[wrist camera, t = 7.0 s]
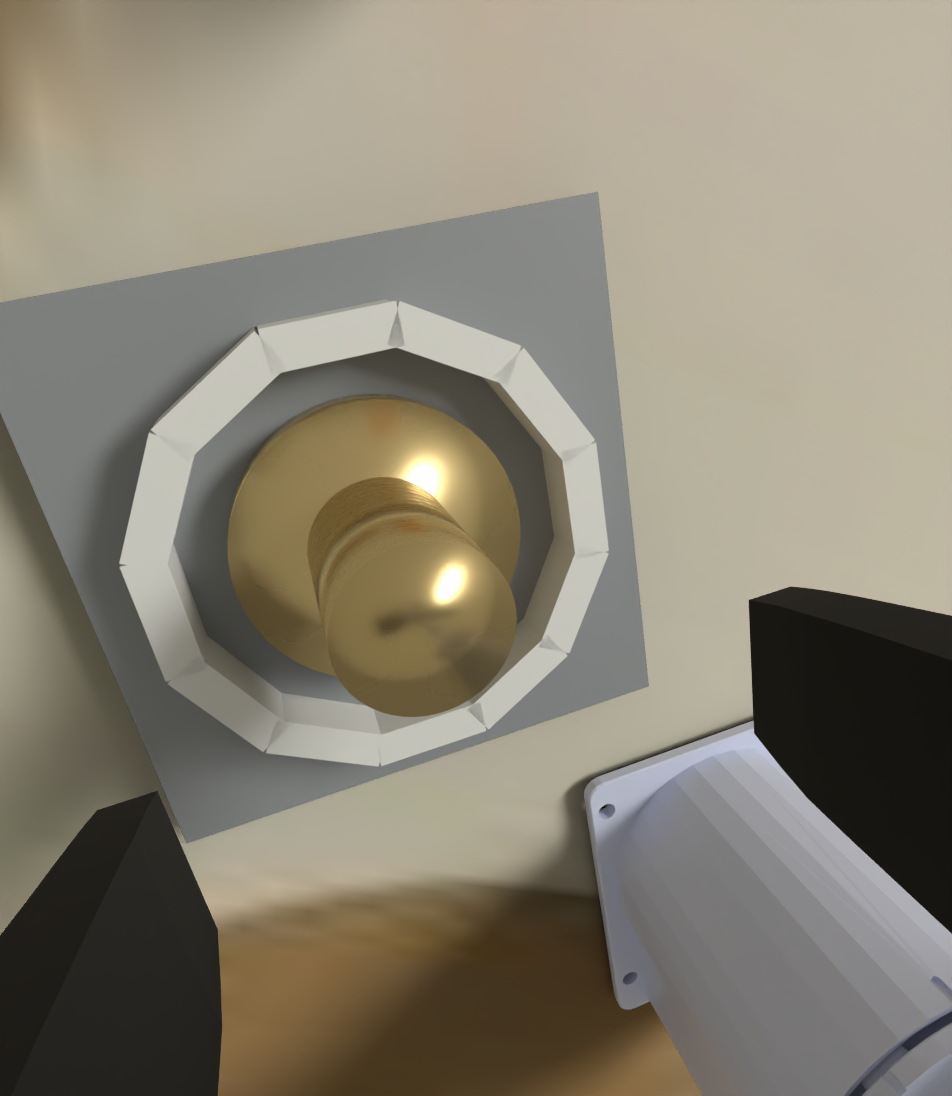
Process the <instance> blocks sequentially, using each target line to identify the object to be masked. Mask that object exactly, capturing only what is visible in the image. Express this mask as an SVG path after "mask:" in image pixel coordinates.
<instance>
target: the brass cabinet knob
mask: <svg viewBox="0 0 952 1096" xmlns="http://www.w3.org/2000/svg"><path fill="white" fill-rule="evenodd" d="M227 544H228V564H229V569H230V575H231V580H232V583H233V586H234V589H235V592H236V595H237V598H238V600H239V602H240V604H241V606H242V608H243V610H244V612H245V614H246V615H247V617H248V618H249V619H250V621H251V622H252V624H253V625H254V627H255V628H256V629H257V630H258V631H259V632H260V634H261V635H262V636H263V637H264V638H265V639H266V640H267V641H268V642H269V643H270V644H271V645H273V646H274V647H275V648H276V649H278V650H279V651H280V652H281V653H283V654H284V655H286V656H287V657H289V658H291V659H292V660H294V661H296V662H297V663H299V664H301V665H304V666H306V667H308V668H311V669H313V670H315V671H319V672H322V673H325V674H329V675H332V676H337V677H338V679H339V680H340V682H341V683H342V685H343V686H344V687H345V688H346V690H347V691H348V692H349V693H350V694H351V695H352V696H354V697H355V698H356V699H357V700H358V701H360V702H361V703H363V704H365V705H366V706H368V707H370V708H372V709H374V710H377V711H379V712H382V713H386V714H389V715H394V716H401V717H421V716H429V715H434V714H438V713H441V712H444V711H448V710H450V709H453V708H455V707H457V706H459V705H461V704H463V703H465V702H466V701H468V700H470V699H471V698H473V697H474V696H475V695H477V694H478V693H479V692H481V691H482V690H483V689H484V688H485V687H486V686H487V685H488V684H489V683H490V682H491V681H492V680H493V679H494V677H495V676H496V675H497V674H498V672H499V671H500V669H501V668H502V666H503V665H504V663H505V661H506V659H507V657H508V655H509V653H510V650H511V648H512V645H513V641H514V637H515V633H516V624H517V616H516V606H515V600H514V597H513V594H512V591H511V588H510V583H511V580H512V577H513V575H514V572H515V568H516V564H517V559H518V555H519V546H520V517H519V511H518V505H517V501H516V497H515V494H514V491H513V487H512V485H511V483H510V481H509V478H508V476H507V474H506V472H505V470H504V468H503V467H502V465H501V464H500V462H499V460H498V459H497V457H496V456H495V454H494V453H493V452H492V451H491V450H490V449H489V447H488V446H487V445H486V444H485V443H484V442H483V441H482V440H481V439H480V438H479V437H478V436H477V435H475V434H474V433H473V432H472V431H471V430H470V429H468V428H467V427H465V426H464V425H462V424H461V423H459V422H458V421H456V420H455V419H453V418H452V417H450V416H449V415H447V414H445V413H444V412H442V411H440V410H438V409H436V408H434V407H432V406H430V405H428V404H426V403H423V402H420V401H417V400H414V399H411V398H407V397H402V396H396V395H390V394H371V393H369V394H358V395H349V396H345V397H340V398H336V399H332V400H329V401H326V402H323V403H321V404H318V405H315V406H313V407H311V408H309V409H307V410H305V411H303V412H301V413H300V414H298V415H296V416H294V417H293V418H292V419H290V420H289V421H287V422H286V423H285V424H283V425H282V426H280V427H279V428H278V429H277V430H276V431H275V432H274V433H273V434H272V435H271V436H269V437H268V438H267V439H266V440H265V441H264V443H263V444H262V445H261V446H260V448H259V449H258V450H257V451H256V453H255V454H254V455H253V456H252V458H251V460H250V461H249V463H248V465H247V466H246V468H245V470H244V471H243V473H242V476H241V478H240V480H239V483H238V485H237V488H236V490H235V494H234V497H233V501H232V505H231V510H230V518H229V527H228V541H227Z"/></svg>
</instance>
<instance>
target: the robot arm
mask: <svg viewBox="0 0 952 1096" xmlns="http://www.w3.org/2000/svg"><path fill="white" fill-rule="evenodd" d="M749 617H750V642H751V668H752V693H753V718H754V720H753V721H751V722H748V723H745V724H742V725H739V726H737V727H734V728H731V729H728V730H726V731H723V732H720V733H717V734H715V735H712V736H709V737H706V738H704V739H701V740H698V741H695V742H693V743H690V744H687V745H684V746H681V747H679V748H676V749H673V750H670V751H668V752H665V753H662V754H659V755H657V756H654V757H651V758H648V759H646V760H643V761H640V762H637V763H635V764H632V765H629V766H626V767H623V768H621V769H618V770H615V771H612V772H610V773H607V774H604V775H601V776H599V777H596V778H595V779H593V780H591V781H590V782H589V783H588V785H587V786H586V788H585V790H584V800H585V807H586V813H587V820H588V826H589V833H590V839H591V846H592V852H593V859H594V865H595V872H596V878H597V885H598V891H599V898H600V904H601V911H602V917H603V924H604V930H605V937H606V944H607V950H608V957H609V963H610V970H611V976H612V983H613V989H614V996H615V998H616V1000H617V1002H618V1004H619V1006H620V1007H621V1008H623V1009H627V1010H630V1009H634V1008H636V1007H638V1006H641V1005H643V1004H645V1003H648V1002H651V1004H652V1006H653V1008H654V1010H655V1011H656V1013H657V1015H658V1017H659V1018H660V1020H661V1022H662V1024H663V1026H664V1027H665V1029H666V1031H667V1033H668V1034H669V1036H670V1038H671V1040H672V1042H673V1043H674V1045H675V1047H676V1049H677V1050H678V1052H679V1054H680V1056H681V1057H682V1059H683V1061H684V1063H685V1065H686V1066H687V1068H688V1070H689V1072H690V1073H691V1075H692V1077H693V1079H694V1081H695V1082H696V1084H697V1086H698V1088H699V1089H700V1091H701V1093H702V1095H703V1096H952V616H950V615H945V614H940V613H935V612H931V611H926V610H921V609H916V608H911V607H906V606H901V605H897V604H892V603H887V602H882V601H877V600H872V599H867V598H862V597H857V596H851V595H846V594H841V593H835V592H829V591H823V590H816V589H809V588H799V587H788V588H785V589H782V590H779V591H776V592H773V593H770V594H766V595H763V596H760V597H757V598H754V599H751V600H749ZM606 804H608V805H607V807H606V808H604V809H603V810H600V809H601V807H603V806H604V805H606ZM221 1035H222V1012H221V983H220V965H219V947H218V930H217V927H216V925H215V922H214V920H213V918H212V916H211V913H210V911H209V909H208V906H207V904H206V902H205V900H204V897H203V895H202V893H201V890H200V888H199V886H198V884H197V881H196V879H195V877H194V874H193V872H192V870H191V868H190V865H189V863H188V861H187V858H186V856H185V854H184V851H183V849H182V847H181V845H180V842H179V840H178V838H177V835H176V833H175V831H174V829H173V826H172V824H171V822H170V819H169V817H168V815H167V813H166V810H165V808H164V806H163V803H162V801H161V799H160V796H159V794H158V792H157V791H156V792H153V793H149V794H146V795H143V796H140V797H137V798H134V799H131V800H128V801H125V802H122V803H118V804H115V805H112V806H109V807H106V808H103V809H100V810H97V811H96V812H95V814H94V815H93V816H92V817H91V818H90V819H89V821H88V822H87V823H86V824H85V825H84V827H83V828H82V829H81V830H80V832H79V833H78V834H77V836H76V837H75V838H74V839H73V841H72V842H71V843H70V845H69V846H68V847H67V849H66V850H65V851H64V853H63V854H62V855H61V856H60V858H59V859H58V860H57V862H56V863H55V864H54V866H53V867H52V868H51V870H50V871H49V872H48V874H47V875H46V876H45V878H44V879H43V880H42V882H41V883H40V884H39V886H38V887H37V888H36V890H35V891H34V892H33V894H32V895H31V896H30V898H29V899H28V900H27V902H26V903H25V904H24V906H23V907H22V908H21V909H20V911H19V912H18V913H17V915H16V916H15V917H14V919H13V920H12V921H11V922H10V924H9V925H8V926H7V928H6V929H5V930H4V932H3V933H2V934H1V935H0V1096H218V1081H219V1066H220V1052H221Z"/></svg>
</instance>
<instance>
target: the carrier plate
mask: <svg viewBox="0 0 952 1096" xmlns="http://www.w3.org/2000/svg"><path fill="white" fill-rule="evenodd" d="M369 393H371V394H390V395H396V396H402V397H407V398H411V399H414V400H417V401H420V402H423V403H426V404H428V405H430V406H432V407H434V408H436V409H438V410H440V411H442V412H444V413H445V414H447V415H449V416H450V417H452V418H453V419H455V420H456V421H458V422H459V423H461V424H462V425H464V426H465V427H467V428H468V429H470V430H471V431H472V432H473V433H474V434H475V435H477V436H478V437H479V438H480V439H481V440H482V441H483V442H484V443H485V444H486V445H487V446H488V447H489V449H490V450H491V451H492V452H493V453H494V454H495V456H496V457H497V459H498V460H499V462H500V464H501V465H502V467H503V468H504V470H505V472H506V474H507V476H508V478H509V481H510V483H511V485H512V487H513V491H514V494H515V497H516V501H517V505H518V511H519V517H520V546H519V555H518V559H517V564H516V568H515V572H514V575H513V577H512V580H511V583H510V588H511V591H512V594H513V597H514V600H515V606H516V616H517V624H516V633H515V637H514V641H513V645H512V648H511V650H510V653H509V655H508V657H507V659H506V661H505V663H504V665H503V666H502V668H501V669H500V671H499V672H498V674H497V675H496V676H495V677H494V679H493V680H492V681H491V682H490V683H489V684H488V685H487V686H486V687H485V688H484V689H483V690H482V691H481V692H479V693H478V694H477V695H475V696H474V697H473V698H471V699H470V700H468V701H466V702H465V703H463V704H461V705H459V706H457V707H455V708H453V709H450V710H448V711H444V712H441V713H438V714H434V715H429V716H421V717H401V716H394V715H389V714H386V713H382V712H379V711H377V710H374V709H372V708H370V707H368V706H366V705H365V704H363V703H361V702H360V701H358V700H357V699H356V698H355V697H354V696H352V695H351V694H350V693H349V692H348V691H347V690H346V688H345V687H344V686H343V685H342V683H341V682H340V680H339V679H338V677H337V676H332V675H329V674H325V673H322V672H319V671H315V670H313V669H311V668H308V667H306V666H304V665H301V664H299V663H297V662H296V661H294V660H292V659H291V658H289V657H287V656H286V655H284V654H283V653H281V652H280V651H279V650H278V649H276V648H275V647H274V646H273V645H271V644H270V643H269V642H268V641H267V640H266V639H265V638H264V637H263V636H262V635H261V634H260V632H259V631H258V630H257V629H256V628H255V627H254V625H253V624H252V622H251V621H250V619H249V618H248V617H247V615H246V614H245V612H244V610H243V608H242V606H241V604H240V602H239V600H238V598H237V595H236V592H235V589H234V586H233V583H232V580H231V575H230V569H229V564H228V544H227V541H228V527H229V518H230V510H231V505H232V501H233V497H234V494H235V490H236V488H237V485H238V483H239V480H240V478H241V476H242V473H243V471H244V470H245V468H246V466H247V465H248V463H249V461H250V460H251V458H252V456H253V455H254V454H255V453H256V451H257V450H258V449H259V448H260V446H261V445H262V444H263V443H264V441H265V440H266V439H267V438H268V437H269V436H271V435H272V434H273V433H274V432H275V431H276V430H277V429H278V428H279V427H280V426H282V425H283V424H285V423H286V422H287V421H289V420H290V419H292V418H293V417H294V416H296V415H298V414H300V413H301V412H303V411H305V410H307V409H309V408H311V407H313V406H315V405H318V404H321V403H323V402H326V401H329V400H332V399H336V398H340V397H345V396H349V395H358V394H369ZM0 414H1V416H2V418H3V420H4V423H5V425H6V427H7V430H8V432H9V434H10V437H11V439H12V441H13V444H14V446H15V448H16V450H17V453H18V455H19V457H20V460H21V462H22V464H23V467H24V469H25V471H26V474H27V476H28V478H29V481H30V483H31V485H32V487H33V490H34V492H35V494H36V497H37V499H38V501H39V504H40V506H41V508H42V511H43V513H44V515H45V517H46V520H47V522H48V524H49V527H50V529H51V531H52V534H53V536H54V538H55V541H56V543H57V545H58V547H59V550H60V552H61V554H62V557H63V559H64V561H65V564H66V566H67V568H68V571H69V573H70V575H71V578H72V580H73V582H74V584H75V587H76V589H77V591H78V594H79V596H80V598H81V601H82V603H83V605H84V608H85V610H86V612H87V614H88V617H89V619H90V621H91V624H92V626H93V628H94V631H95V633H96V635H97V638H98V640H99V642H100V644H101V647H102V649H103V651H104V654H105V656H106V658H107V661H108V663H109V665H110V668H111V670H112V672H113V675H114V677H115V679H116V681H117V684H118V686H119V688H120V691H121V693H122V695H123V698H124V700H125V702H126V705H127V707H128V709H129V711H130V714H131V716H132V718H133V721H134V723H135V725H136V728H137V730H138V732H139V735H140V737H141V739H142V741H143V744H144V746H145V748H146V751H147V753H148V755H149V758H150V760H151V762H152V765H153V767H154V769H155V772H156V774H157V776H158V778H159V781H160V783H161V785H162V788H163V790H164V792H165V795H166V797H167V799H168V802H169V804H170V806H171V808H172V811H173V813H174V815H175V818H176V820H177V822H178V825H179V827H180V829H181V832H182V834H183V836H184V838H185V841H186V843H189V842H192V841H195V840H198V839H201V838H204V837H206V836H209V835H212V834H215V833H218V832H221V831H224V830H227V829H230V828H233V827H236V826H239V825H242V824H245V823H248V822H251V821H254V820H257V819H259V818H262V817H265V816H268V815H271V814H274V813H277V812H280V811H283V810H286V809H289V808H292V807H295V806H298V805H301V804H304V803H307V802H309V801H312V800H315V799H318V798H321V797H324V796H327V795H330V794H333V793H336V792H339V791H342V790H345V789H348V788H351V787H354V786H357V785H359V784H362V783H365V782H368V781H371V780H374V779H377V778H380V777H383V776H386V775H389V774H392V773H395V772H398V771H401V770H404V769H407V768H410V767H412V766H415V765H418V764H421V763H424V762H427V761H430V760H433V759H436V758H439V757H442V756H445V755H448V754H451V753H454V752H457V751H460V750H462V749H465V748H468V747H471V746H474V745H477V744H480V743H483V742H486V741H489V740H492V739H495V738H498V737H501V736H504V735H507V734H510V733H512V732H515V731H518V730H521V729H524V728H527V727H530V726H533V725H536V724H539V723H542V722H545V721H548V720H551V719H554V718H557V717H560V716H563V715H565V714H568V713H571V712H574V711H577V710H580V709H583V708H586V707H589V706H592V705H595V704H598V703H601V702H604V701H607V700H610V699H613V698H615V697H618V696H621V695H624V694H627V693H630V692H633V691H636V690H639V689H642V688H645V687H648V686H649V684H648V674H647V664H646V654H645V645H644V635H643V625H642V615H641V606H640V596H639V586H638V576H637V567H636V557H635V547H634V537H633V527H632V518H631V508H630V498H629V488H628V479H627V469H626V459H625V449H624V440H623V430H622V420H621V410H620V401H619V391H618V381H617V371H616V362H615V352H614V342H613V332H612V322H611V313H610V303H609V293H608V283H607V274H606V264H605V254H604V244H603V235H602V225H601V215H600V205H599V196H598V192H594V193H589V194H583V195H578V196H573V197H567V198H562V199H556V200H551V201H546V202H540V203H535V204H530V205H524V206H519V207H513V208H508V209H503V210H497V211H492V212H486V213H481V214H476V215H470V216H465V217H460V218H454V219H449V220H443V221H438V222H433V223H427V224H422V225H416V226H411V227H406V228H400V229H395V230H390V231H384V232H379V233H373V234H368V235H363V236H357V237H352V238H347V239H341V240H336V241H330V242H325V243H320V244H314V245H309V246H303V247H298V248H293V249H287V250H282V251H277V252H271V253H266V254H260V255H255V256H250V257H244V258H239V259H233V260H228V261H223V262H217V263H212V264H207V265H201V266H196V267H190V268H185V269H180V270H174V271H169V272H163V273H158V274H153V275H147V276H142V277H137V278H131V279H126V280H120V281H115V282H110V283H104V284H99V285H93V286H88V287H83V288H77V289H72V290H67V291H61V292H56V293H50V294H45V295H40V296H34V297H29V298H23V299H18V300H13V301H7V302H2V303H0Z"/></svg>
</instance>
